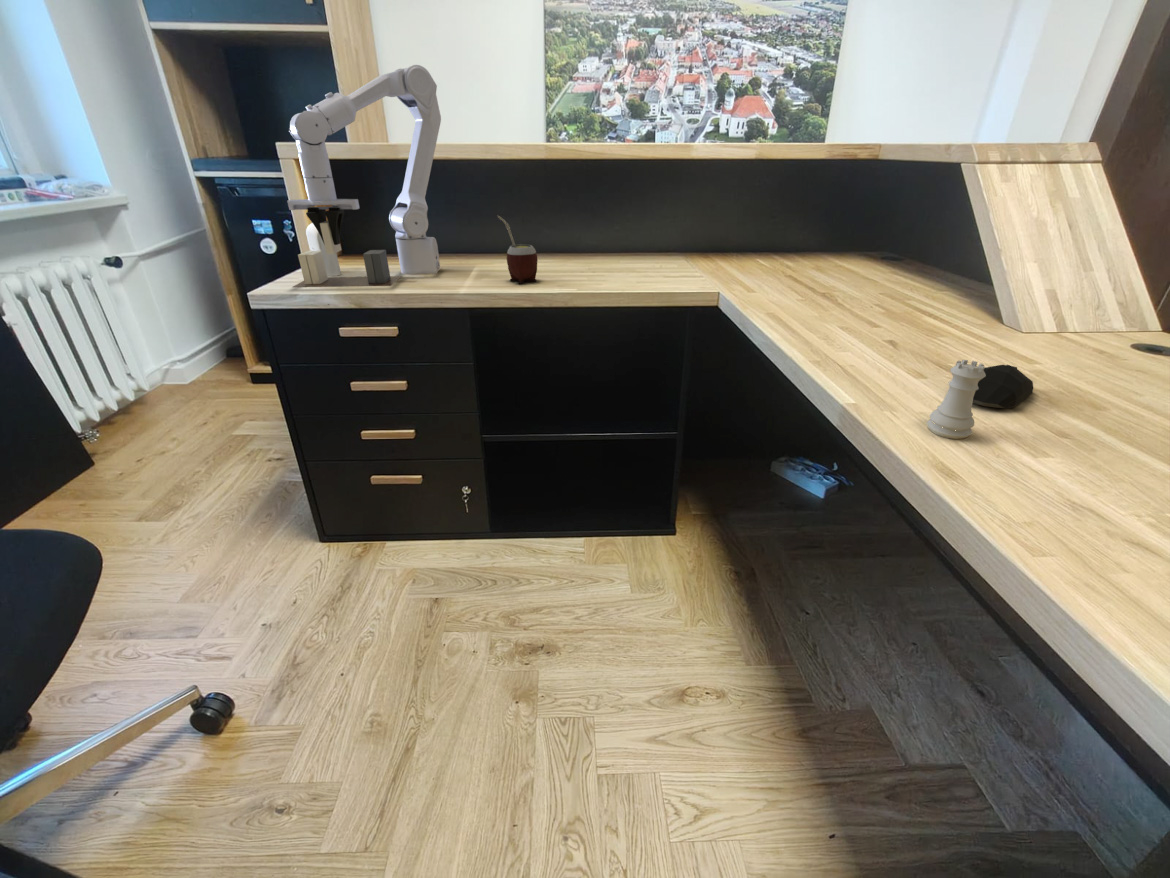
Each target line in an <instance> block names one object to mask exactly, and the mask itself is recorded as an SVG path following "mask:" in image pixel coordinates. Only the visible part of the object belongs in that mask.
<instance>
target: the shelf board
mask: <svg viewBox="0 0 1170 878" xmlns="http://www.w3.org/2000/svg"><path fill="white" fill-rule="evenodd" d="M402 277H403V276H402V275H390V279H389V280H388V281H387V282H385V283H368V278H367V276H329V277H328V280H326V281H324V282H323V283H321V284H305V282H304V280H302V281H300V282H299V283H297V284H295V285H293V286H292V288H339V287H343V288H344V287H345V288H346V287H392V286H393V285H394V284H395V283H396V282H398V281H399V280H400V279H401V278H402Z"/></svg>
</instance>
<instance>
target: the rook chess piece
mask: <svg viewBox="0 0 1170 878" xmlns="http://www.w3.org/2000/svg"><path fill="white" fill-rule="evenodd" d="M984 368H985V364H984V363H981V362H980V363H979V364H978V361H975V360H972V361H971V364H969V360H968V359H961V360H957V361H956V363H955V365H954V366H953V367H951V368H950V369H949V371H950V372H951V373H950V374H951V375H952V378H951V380H950V381H949V382H948V389H947V391H946V394H945V396H944V398H943V400H942V402H941V403H940V405H938V406H937V407H936V409H934V410H933V411H931V413H930V414H929V420H927V421H926V425H927V428H928V429H929V431H930V432H931V433H933V434H934V435H937V436H939V437H943V438H946V439H951V440H961V439H965V438H967V437H969V436H971V435H972V434H973V429H972V428H973V427H974V426H975V419H974V417H973V416H974V414H973V412H972V407H973V403H972V402H973V397H974V394H975V391H976V390H978V389H979V388H978V382H979V380H981V379H982V378H984V377H985V376H986V374H985V372H984ZM932 421H933V422H934V423H935V424H934V423H933V422H932ZM942 427H943V428H942ZM955 430H956V431H955Z"/></svg>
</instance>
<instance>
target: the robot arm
mask: <svg viewBox="0 0 1170 878" xmlns="http://www.w3.org/2000/svg"><path fill="white" fill-rule="evenodd" d="M437 87H438V85H437V83H436V82H435V80H434V78H433V76H432V75H431V73H430V71H429V70H428V69H426V67H425V66H422V65H420V64H412V65H410V66H408V67H405V68H398V69H395V70H393V71H391V72H387V73H384V74H380V75H379V76H376V77H375V78H373V79H372V80H370V81H369V82H367V83H366V84H364V85H362V86H361V87H359V88H357V89H356V90H354V91H352V92H351V93H349V94H348V95H344V94H343V93H341V92H335V93H333V92H332V91H330V92H328V93H326V94H324V97H325V98H324V99H323V100H320V101H319V102H317V103H315V104H313V105H312V104H308V105H306V106H305V109H306V110H303V111H302V112H298V113H296V114H294V115H293V116H292V117H291V119H290V121H289V128H288V132H289V133H290V135H291V136H292V139H294V140H295V144H296V148H297V151H298V153H297V155H298V159H299V164H300V168H301V169H300V170H301V173H302V177H303V180H304V181H303V183H304V186H305V191H306V197H307V199H305V198H304V199H288V200H287V201H286V202H287V206H288V210H289V211H296V210H297V211H298V210H300V211H301V210H304V211H306V210H307V211H306V213H305V215H306V217H307V219H309V221H310V222H311V223H313V224H314V226H315V227H316V229H317V231H318V232H319V234H320V236H321V238H322V241H323V243H324V240H323V235H322V231H321V227H320V223H322V222H325V221H328V222H329V225H330V229H331V234H332V239H333V242H334V245H338V244H340V245H341V232H342V231H341V230H342V229H341V228H342V224H343V223H342V222H343V219H344V217H345V210H359V209H360V203H359V199H358V198H338V197H337V193H336V188H335V182H334V178H333V172H332V167H331V163H330V162H331V161H330V158H329V153H328V151H327V145H326V139H327V138H328V136H332V135H333V134H335V133H337V132H338V131H340V130H342V129H344V128H345V127H347V126H349V125H351V124H352V123H354V122H355V121H356V116H357V112H358V111H360V110H362V109H364V108H366V107H368V106H370V105H372V104H373V103H376V102H377V101H379V100H381V99H383V98H385V97H389V98H397V99H398V100H399V101H400V102H401V103H402V104H403V105H404V106H405V107H407V109H408V110H409V112H410V113H411V115H412V116H413V119H414V120H415V123H414V129H413V133H412V139H411V144H410V150H409V154H408V159H407V164H406V169H405V175H404V179H403V185H402V190H401V192H400V194H399V195H398V196H397V198H396V201H395V205H394V206H393V208H392V209H391V210H390V211H389V215H388V221H389V224H390V226H391V228H392V230H394V231H395V233H394V234H395V235H394V237H395V242H396V243H395V244H396V251H397V256H398V260H399V261H398V262H399V268H400V273H401V274H403V275H408V276H409V275H411V276H412V275H435V274H437V273H438V272H439V271H440V270H441V262H440V254H439V246H438V242H437V238H435V237H434V236H427V231H428V228H429V219H428V210H429V207H428V204H427V201H426V195H427V191H428V187H429V181H430V175H431V171H432V166H433V160H434V156H435V151H436V147H437V142H438V136H439V133H440V127H441V123H442V116H441V110H440V106H439V102H438V96H437V90H438V88H437ZM330 205H331V206H330ZM324 245H325V244H324Z"/></svg>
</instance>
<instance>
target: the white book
mask: <svg viewBox="0 0 1170 878" xmlns="http://www.w3.org/2000/svg"><path fill="white" fill-rule="evenodd" d="M320 227H321V231H322V235H323V240H324V244H325V248H326V253H327V254H335V253H337V254H338V253H339V252H341V251H342V246H341V243H340V244H338V245H334V242H333V239H332V234H331V229H330V225H329V222H328V220H326V221H325V222H322V223H320Z"/></svg>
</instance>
